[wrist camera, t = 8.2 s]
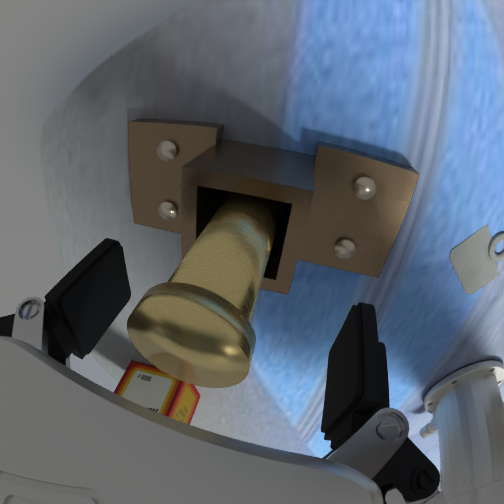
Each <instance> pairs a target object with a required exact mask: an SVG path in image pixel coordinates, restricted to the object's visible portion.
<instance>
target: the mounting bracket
mask: <svg viewBox="0 0 504 504" xmlns="http://www.w3.org/2000/svg"><path fill="white" fill-rule="evenodd" d="M502 240H504V232H500V233H498V234H496V235H495V236H494V237H493V239H492V240H491V236H490V232H489V228H488V225H487V224H486V225H485V226H484V227H482V228H481V229H480V230H478V231H477V232H476V233H474V234H473V235H472V236H470V237H469V238H467V239H466V240H465V241H463V242H462V243H460V244H459V245H458V246H456V247H455V248H453V249H452V250H451V252H450V261H451V263H452V265H453V267H454V269H455V271H456V273H457V276H458V278H459V280H460V282H461V284H462V287H463V289H464V291H465V293H467V294H473V293H475V292H476V291H478V290H479V289H480V288H482V287H483V286H485V285H486V284H488V283H489V282H490V281H492V280H493V279H494V278H496V277H497V276H498V275H499V272H498V267H497V262H496V261H501V260H503V259H504V251H503V252H502V253H500V254H497V253H495V248H496V245H497V244H498V243H499V242H500V241H502Z"/></svg>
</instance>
